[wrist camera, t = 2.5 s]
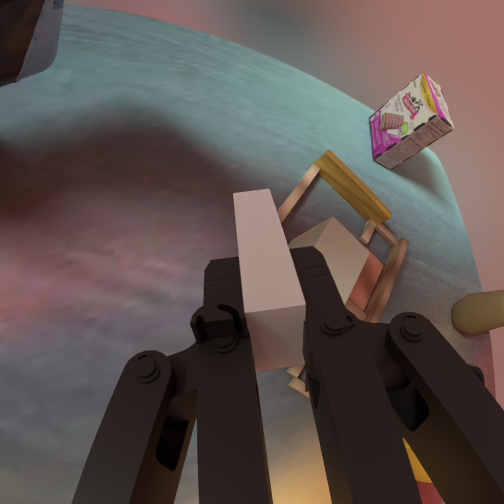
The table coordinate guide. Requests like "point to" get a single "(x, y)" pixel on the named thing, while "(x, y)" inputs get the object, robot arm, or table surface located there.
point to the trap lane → (374, 215)
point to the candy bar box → (409, 122)
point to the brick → (336, 252)
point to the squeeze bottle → (479, 312)
